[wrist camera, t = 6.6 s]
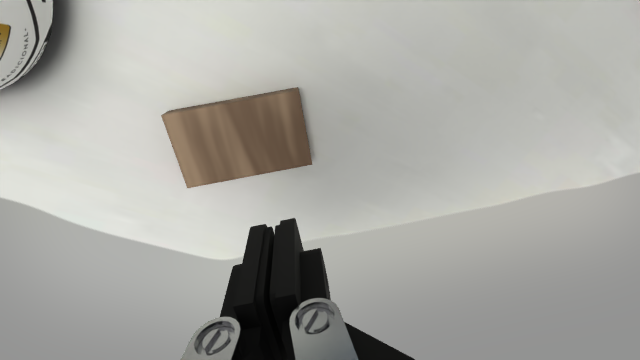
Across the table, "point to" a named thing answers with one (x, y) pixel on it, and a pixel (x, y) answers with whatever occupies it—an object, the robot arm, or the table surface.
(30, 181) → the table surface
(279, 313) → the robot arm
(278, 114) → the walnut slab
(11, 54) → the milk container
